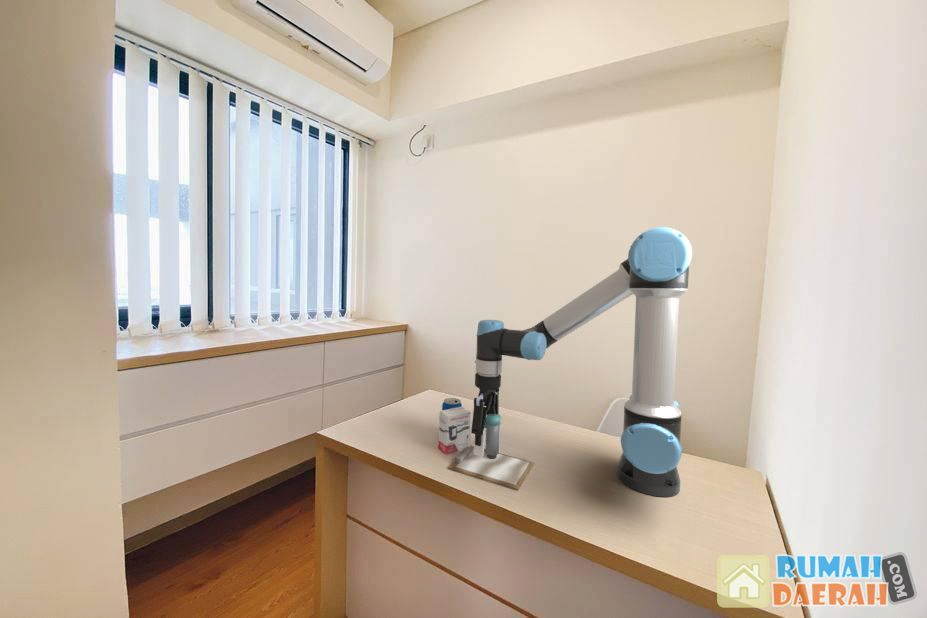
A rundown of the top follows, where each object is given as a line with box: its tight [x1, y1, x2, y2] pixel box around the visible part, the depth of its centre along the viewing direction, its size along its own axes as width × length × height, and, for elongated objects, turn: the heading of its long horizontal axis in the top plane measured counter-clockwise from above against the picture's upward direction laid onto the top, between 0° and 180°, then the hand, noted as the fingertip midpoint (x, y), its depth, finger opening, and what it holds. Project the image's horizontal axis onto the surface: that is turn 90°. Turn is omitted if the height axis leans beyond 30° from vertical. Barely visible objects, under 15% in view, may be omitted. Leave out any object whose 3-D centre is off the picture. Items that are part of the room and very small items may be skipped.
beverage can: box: [441, 397, 463, 411], centre depth 116 cm, size 6×6×12 cm
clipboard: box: [447, 444, 535, 492], centre depth 98 cm, size 20×15×2 cm
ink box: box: [438, 406, 471, 455], centre depth 108 cm, size 8×5×12 cm, turn 124°
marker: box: [484, 414, 502, 459], centre depth 102 cm, size 4×4×12 cm
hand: (484, 449), depth 103 cm, fingers open, 8 cm apart
